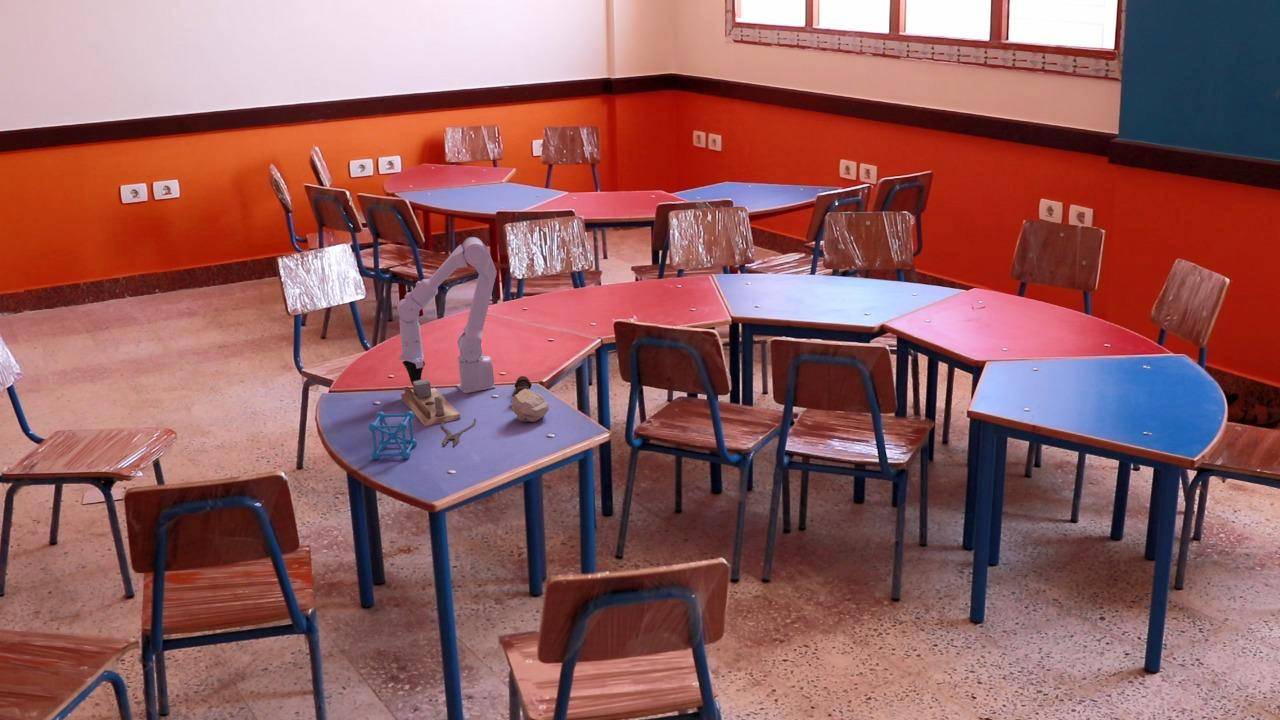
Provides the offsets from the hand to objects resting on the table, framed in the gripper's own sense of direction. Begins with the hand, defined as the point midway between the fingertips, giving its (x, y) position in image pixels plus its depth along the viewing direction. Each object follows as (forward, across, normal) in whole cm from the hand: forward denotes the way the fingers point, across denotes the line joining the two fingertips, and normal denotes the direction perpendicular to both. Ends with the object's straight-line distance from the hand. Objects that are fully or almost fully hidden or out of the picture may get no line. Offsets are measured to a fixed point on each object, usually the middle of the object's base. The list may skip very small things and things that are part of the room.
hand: (416, 384), depth 356 cm
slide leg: (+1, +7, 0) cm, 7 cm away
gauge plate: (+3, +14, 0) cm, 14 cm away
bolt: (+3, +18, +27) cm, 32 cm away
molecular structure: (+3, +40, -17) cm, 43 cm away
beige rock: (+3, +36, +22) cm, 42 cm away
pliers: (+3, +35, +2) cm, 35 cm away
